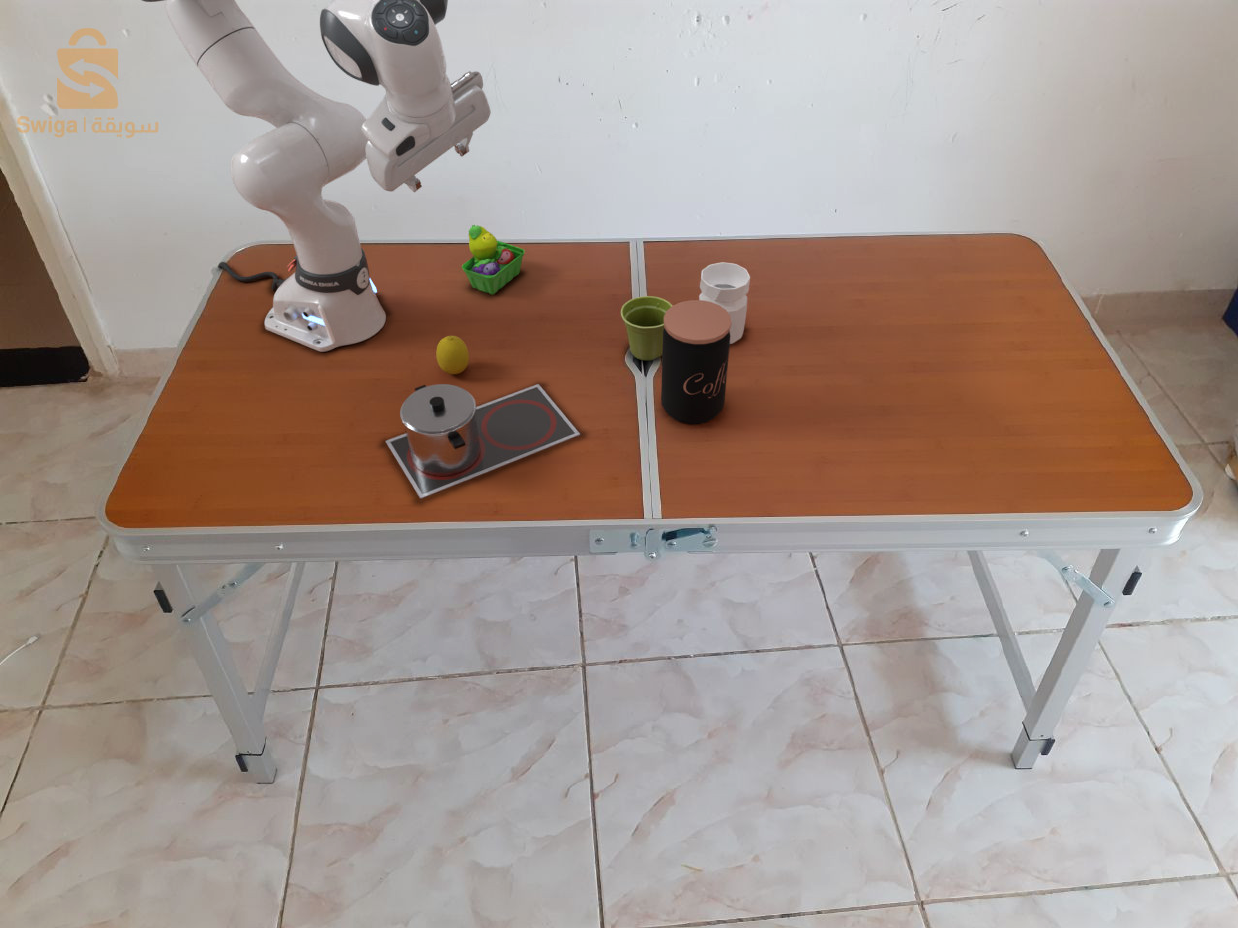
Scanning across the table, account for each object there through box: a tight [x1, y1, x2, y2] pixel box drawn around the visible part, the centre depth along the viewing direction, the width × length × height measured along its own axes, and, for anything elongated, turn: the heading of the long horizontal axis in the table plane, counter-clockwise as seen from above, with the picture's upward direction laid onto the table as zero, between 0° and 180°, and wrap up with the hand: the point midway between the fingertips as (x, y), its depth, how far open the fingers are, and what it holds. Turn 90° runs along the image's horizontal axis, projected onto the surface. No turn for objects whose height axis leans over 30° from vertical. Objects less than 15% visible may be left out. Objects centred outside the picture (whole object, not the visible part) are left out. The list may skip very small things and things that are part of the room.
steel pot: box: [399, 383, 480, 476], centre depth 150 cm, size 12×16×11 cm
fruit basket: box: [461, 224, 526, 296], centre depth 186 cm, size 11×9×11 cm
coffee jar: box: [660, 299, 731, 426], centre depth 156 cm, size 11×11×18 cm
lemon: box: [435, 335, 470, 375], centre depth 166 cm, size 6×6×8 cm
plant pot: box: [620, 295, 673, 361], centre depth 170 cm, size 9×9×9 cm
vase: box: [698, 261, 751, 345], centre depth 173 cm, size 9×9×12 cm
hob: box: [385, 383, 581, 500], centre depth 156 cm, size 28×15×1 cm, turn 120°
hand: (438, 169), depth 145 cm, fingers open, 8 cm apart
